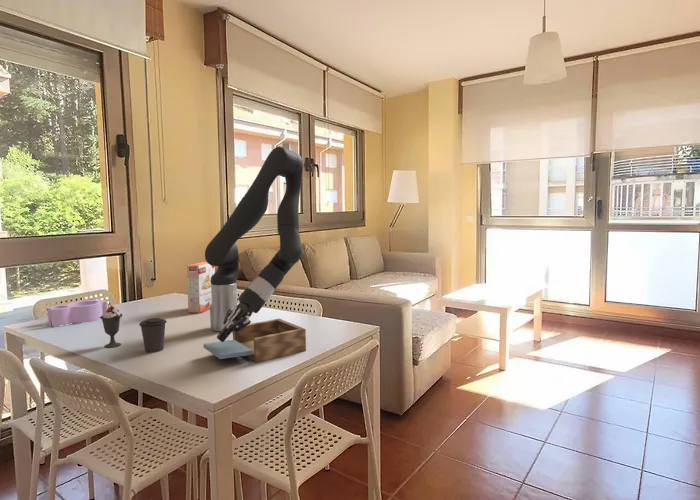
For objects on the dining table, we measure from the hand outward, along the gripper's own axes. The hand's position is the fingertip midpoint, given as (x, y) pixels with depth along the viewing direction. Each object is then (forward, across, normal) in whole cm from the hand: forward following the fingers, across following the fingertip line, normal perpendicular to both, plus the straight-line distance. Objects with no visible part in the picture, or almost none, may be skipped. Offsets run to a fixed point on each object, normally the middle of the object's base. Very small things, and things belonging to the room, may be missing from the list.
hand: (219, 340), depth 130 cm
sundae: (+21, -36, -11) cm, 43 cm away
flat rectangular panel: (-2, 0, +8) cm, 9 cm away
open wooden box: (-7, 0, +16) cm, 17 cm away
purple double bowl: (+25, -81, -14) cm, 86 cm away
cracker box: (-8, -68, +18) cm, 71 cm away
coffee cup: (+14, -23, -4) cm, 27 cm away
